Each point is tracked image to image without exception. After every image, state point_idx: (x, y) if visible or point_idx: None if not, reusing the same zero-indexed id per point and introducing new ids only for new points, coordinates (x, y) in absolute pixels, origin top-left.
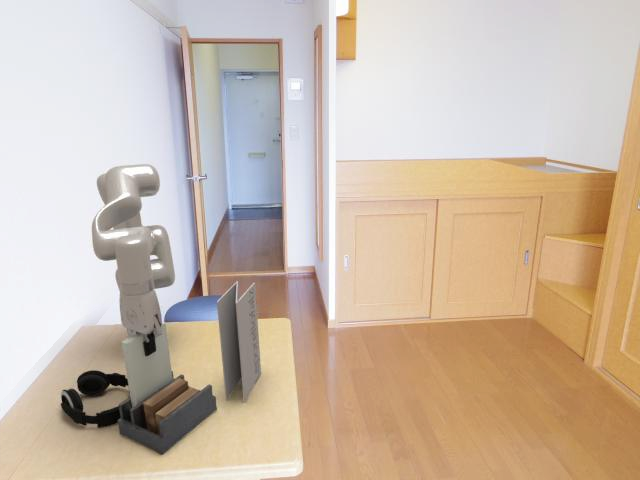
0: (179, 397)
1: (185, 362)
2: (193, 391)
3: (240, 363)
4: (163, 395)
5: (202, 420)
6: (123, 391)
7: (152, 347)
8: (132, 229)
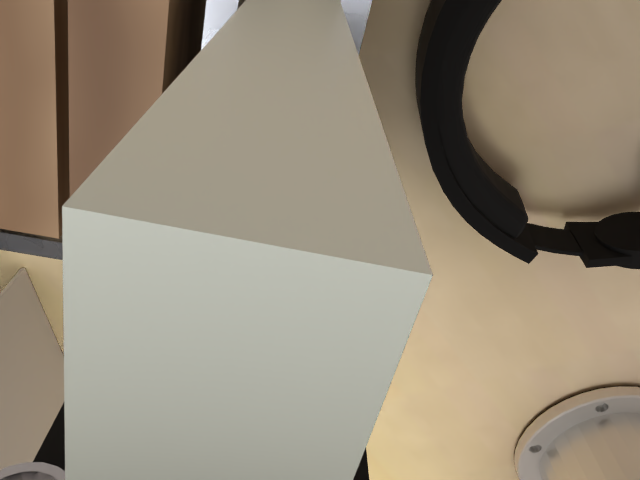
0: (40, 129)
1: (384, 429)
2: (7, 206)
3: None
4: (96, 79)
5: None
6: (563, 202)
7: None
8: None
